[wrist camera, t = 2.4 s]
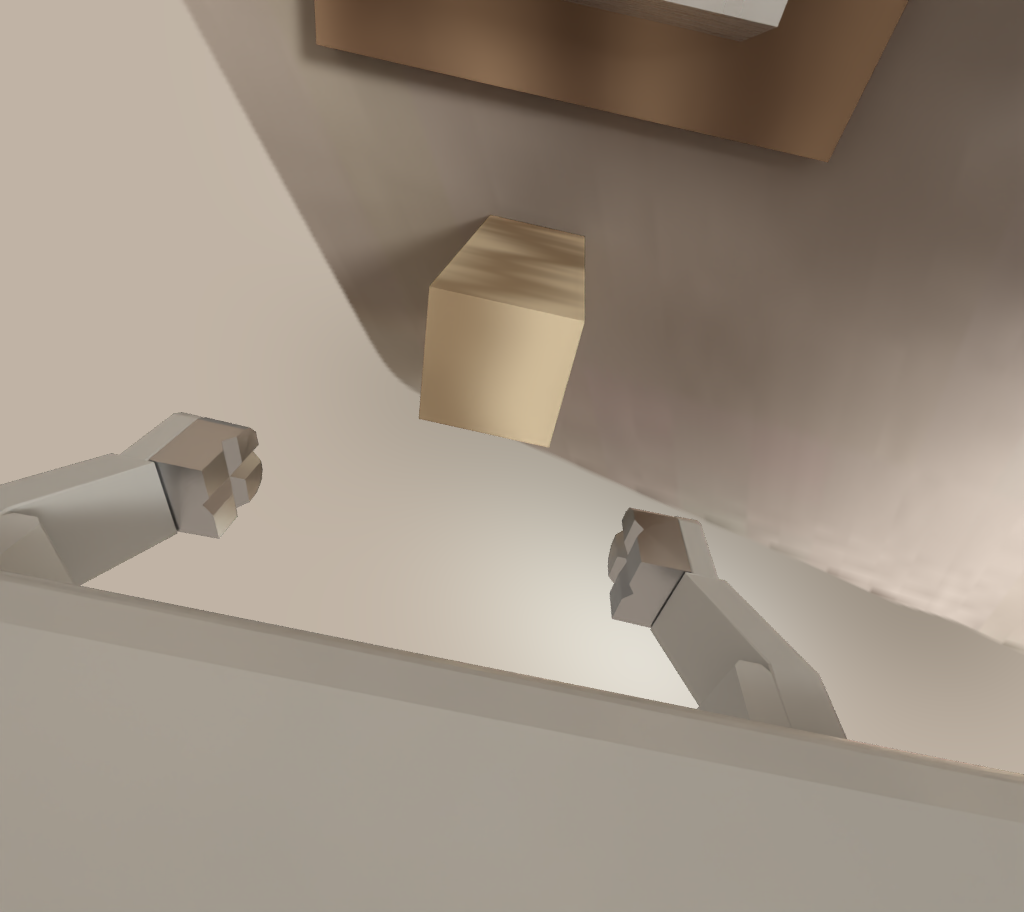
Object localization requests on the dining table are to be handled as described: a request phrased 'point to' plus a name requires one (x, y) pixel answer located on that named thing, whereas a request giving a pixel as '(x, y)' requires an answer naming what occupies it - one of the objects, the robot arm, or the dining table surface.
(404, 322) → the dining table surface
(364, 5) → the walnut base
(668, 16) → the steel collar
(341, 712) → the robot arm
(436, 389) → the birch pin
